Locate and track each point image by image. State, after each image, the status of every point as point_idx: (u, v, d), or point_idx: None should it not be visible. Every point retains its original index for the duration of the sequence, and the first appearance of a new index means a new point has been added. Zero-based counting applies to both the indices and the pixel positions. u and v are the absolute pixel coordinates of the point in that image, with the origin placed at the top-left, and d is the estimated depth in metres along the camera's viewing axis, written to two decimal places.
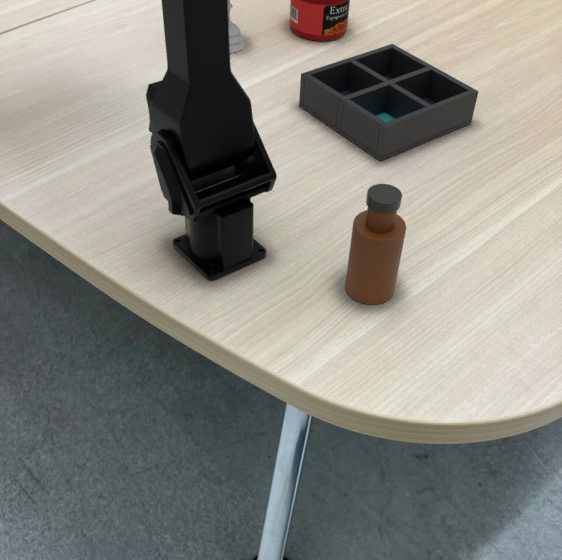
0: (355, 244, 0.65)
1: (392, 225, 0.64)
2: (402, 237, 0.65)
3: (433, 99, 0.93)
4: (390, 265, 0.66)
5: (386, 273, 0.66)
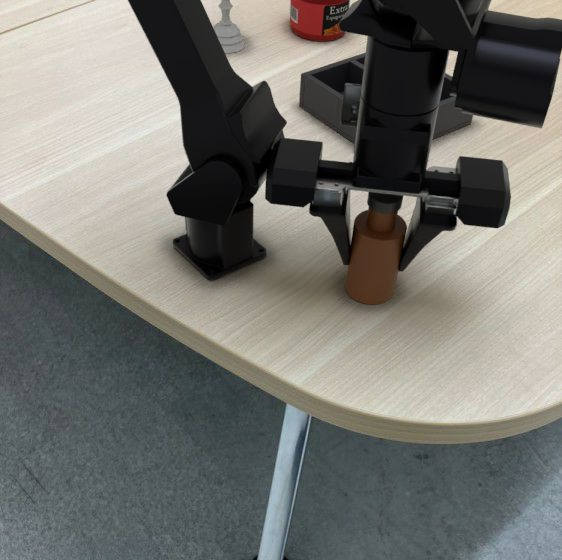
0: (356, 244, 0.65)
1: (393, 225, 0.64)
2: (403, 237, 0.65)
3: None
4: (390, 265, 0.66)
5: (386, 273, 0.66)
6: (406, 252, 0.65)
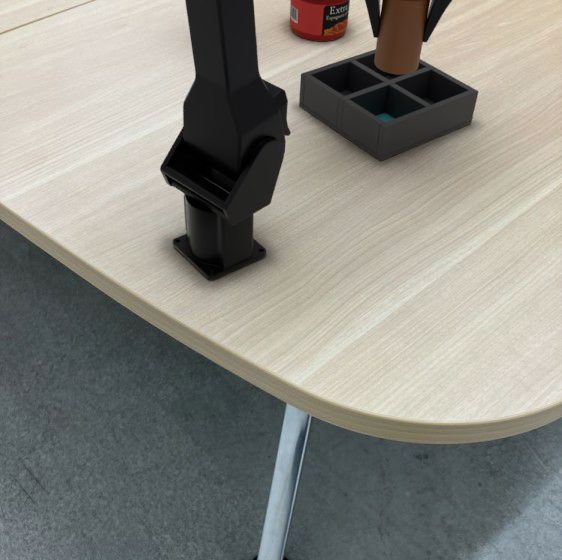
0: (385, 10, 0.73)
1: None
2: (427, 2, 0.72)
3: (433, 99, 0.93)
4: (416, 31, 0.74)
5: (412, 39, 0.74)
6: (430, 16, 0.73)
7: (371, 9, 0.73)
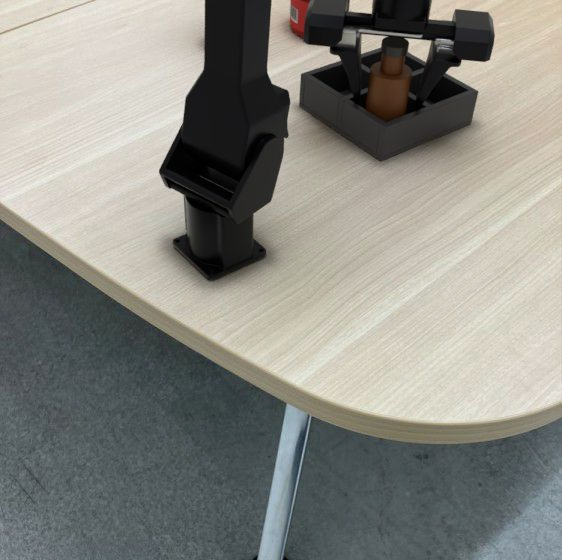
0: (372, 87, 0.83)
1: (401, 69, 0.82)
2: (409, 79, 0.82)
3: (433, 99, 0.93)
4: (399, 104, 0.83)
5: (396, 111, 0.84)
6: (421, 91, 0.82)
7: (353, 83, 0.82)
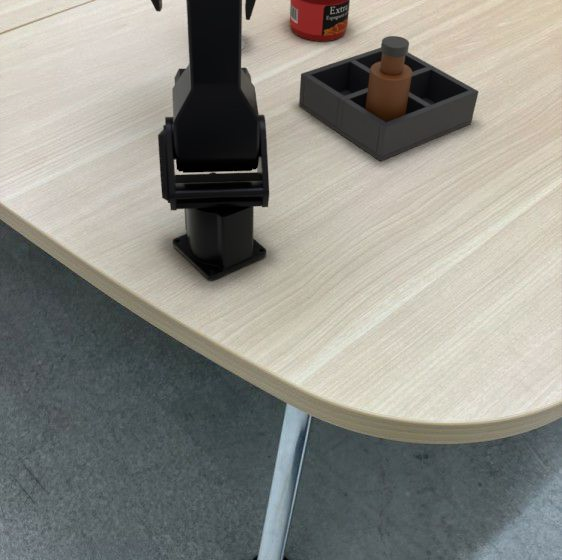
0: (372, 87, 0.83)
1: (401, 69, 0.82)
2: (409, 79, 0.82)
3: (433, 99, 0.93)
4: (399, 104, 0.83)
5: (396, 111, 0.84)
6: None
7: None
